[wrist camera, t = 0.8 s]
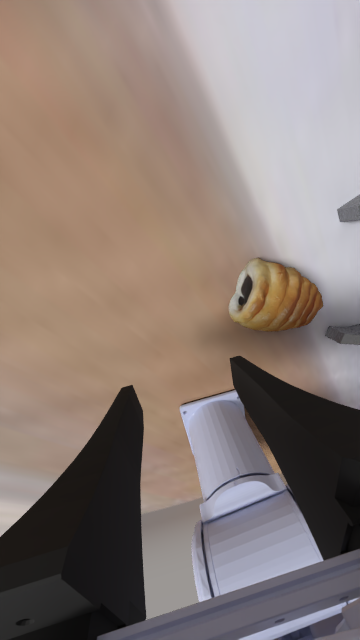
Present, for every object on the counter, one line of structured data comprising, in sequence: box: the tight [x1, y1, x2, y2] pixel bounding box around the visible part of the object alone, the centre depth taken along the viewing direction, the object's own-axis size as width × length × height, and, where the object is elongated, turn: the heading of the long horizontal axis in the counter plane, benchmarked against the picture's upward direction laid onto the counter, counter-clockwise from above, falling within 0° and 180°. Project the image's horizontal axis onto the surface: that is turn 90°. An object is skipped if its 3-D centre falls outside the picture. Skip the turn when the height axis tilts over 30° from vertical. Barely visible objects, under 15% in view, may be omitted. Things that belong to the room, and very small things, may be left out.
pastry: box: [229, 258, 323, 331], centre depth 19 cm, size 9×7×4 cm
